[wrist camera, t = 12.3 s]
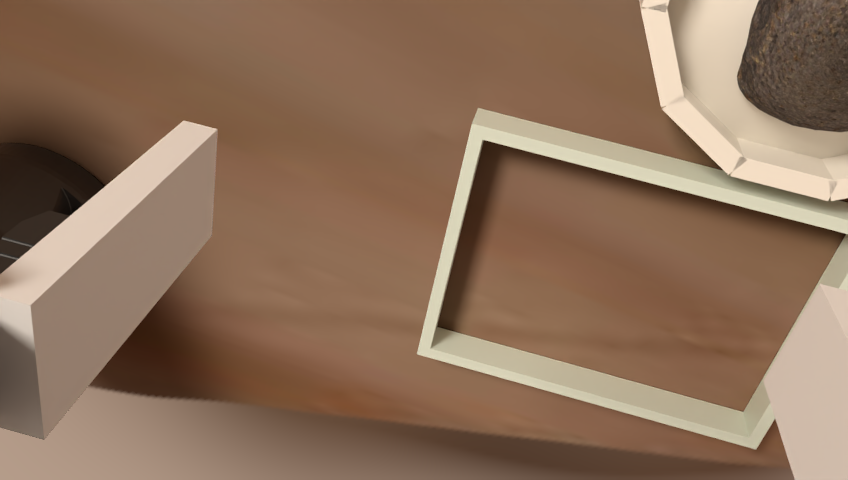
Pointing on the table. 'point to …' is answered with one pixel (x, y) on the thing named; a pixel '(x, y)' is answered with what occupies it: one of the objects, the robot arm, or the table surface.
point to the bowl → (734, 100)
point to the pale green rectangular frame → (589, 384)
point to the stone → (798, 62)
